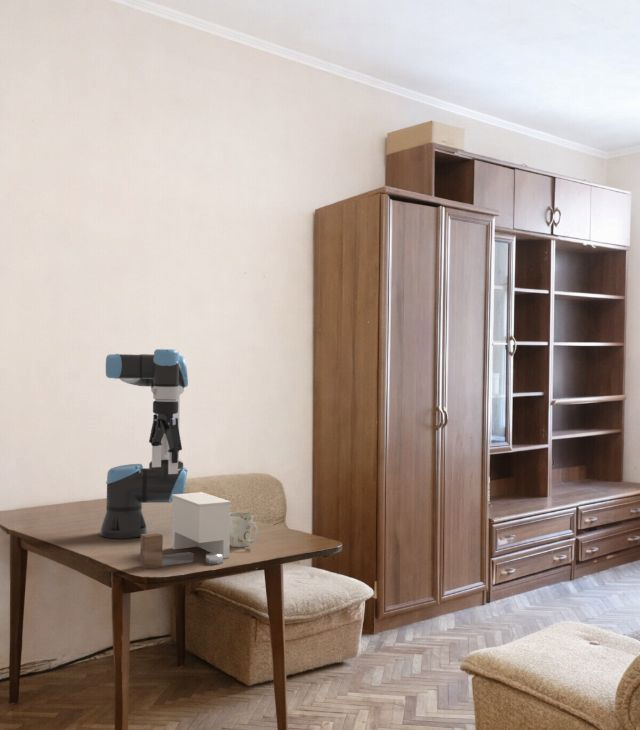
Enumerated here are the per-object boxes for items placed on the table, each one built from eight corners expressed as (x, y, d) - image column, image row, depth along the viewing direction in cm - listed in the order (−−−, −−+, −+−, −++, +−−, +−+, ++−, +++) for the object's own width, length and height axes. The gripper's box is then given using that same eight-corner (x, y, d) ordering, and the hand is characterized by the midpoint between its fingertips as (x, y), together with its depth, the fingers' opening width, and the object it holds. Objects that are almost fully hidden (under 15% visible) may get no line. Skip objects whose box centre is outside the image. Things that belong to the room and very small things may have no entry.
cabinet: (171, 548, 247) (171, 494, 247) (201, 544, 252) (202, 492, 253) (198, 561, 230) (199, 504, 230) (230, 557, 235) (231, 501, 236)
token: (202, 562, 229) (202, 554, 229) (216, 560, 233) (216, 552, 233) (212, 565, 226) (212, 556, 226) (226, 562, 229) (226, 554, 229)
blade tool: (140, 565, 224) (140, 534, 224) (188, 559, 232) (189, 529, 232) (145, 569, 221) (145, 536, 221) (194, 562, 229) (194, 531, 229)
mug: (239, 541, 258) (240, 510, 258) (267, 547, 250) (268, 515, 250) (221, 545, 252) (221, 514, 252) (249, 551, 244) (250, 519, 244)
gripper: (139, 397, 245) (138, 465, 246) (169, 403, 224) (168, 477, 225) (162, 397, 250) (161, 463, 250) (193, 403, 229) (192, 475, 229)
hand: (164, 470), depth 238 cm, fingers open, 13 cm apart
